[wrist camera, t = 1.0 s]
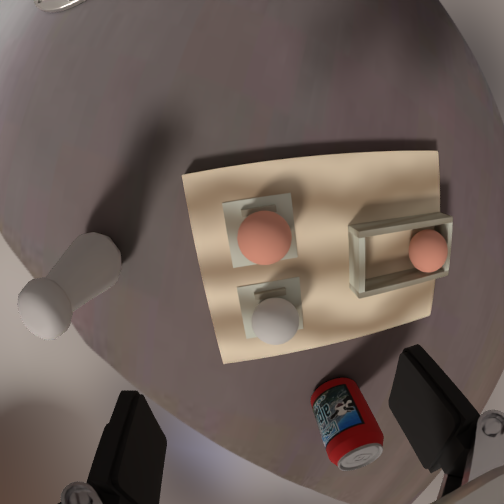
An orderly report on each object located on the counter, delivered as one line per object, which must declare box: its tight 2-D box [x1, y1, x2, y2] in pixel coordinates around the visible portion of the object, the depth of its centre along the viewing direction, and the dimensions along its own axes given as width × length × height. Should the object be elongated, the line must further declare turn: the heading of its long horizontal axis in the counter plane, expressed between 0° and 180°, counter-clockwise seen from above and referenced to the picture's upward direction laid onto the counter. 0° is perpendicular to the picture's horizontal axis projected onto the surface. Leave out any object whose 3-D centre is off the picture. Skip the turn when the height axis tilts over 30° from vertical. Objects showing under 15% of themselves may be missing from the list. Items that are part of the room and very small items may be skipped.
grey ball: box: [251, 298, 299, 345], centre depth 26 cm, size 4×4×4 cm
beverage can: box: [311, 378, 384, 471], centre depth 29 cm, size 7×7×12 cm
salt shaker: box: [17, 232, 121, 340], centre depth 20 cm, size 6×6×13 cm
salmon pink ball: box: [237, 211, 292, 265], centre depth 24 cm, size 4×4×4 cm
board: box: [182, 150, 453, 364], centre depth 27 cm, size 20×26×4 cm
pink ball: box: [409, 229, 448, 273], centre depth 26 cm, size 4×4×4 cm
